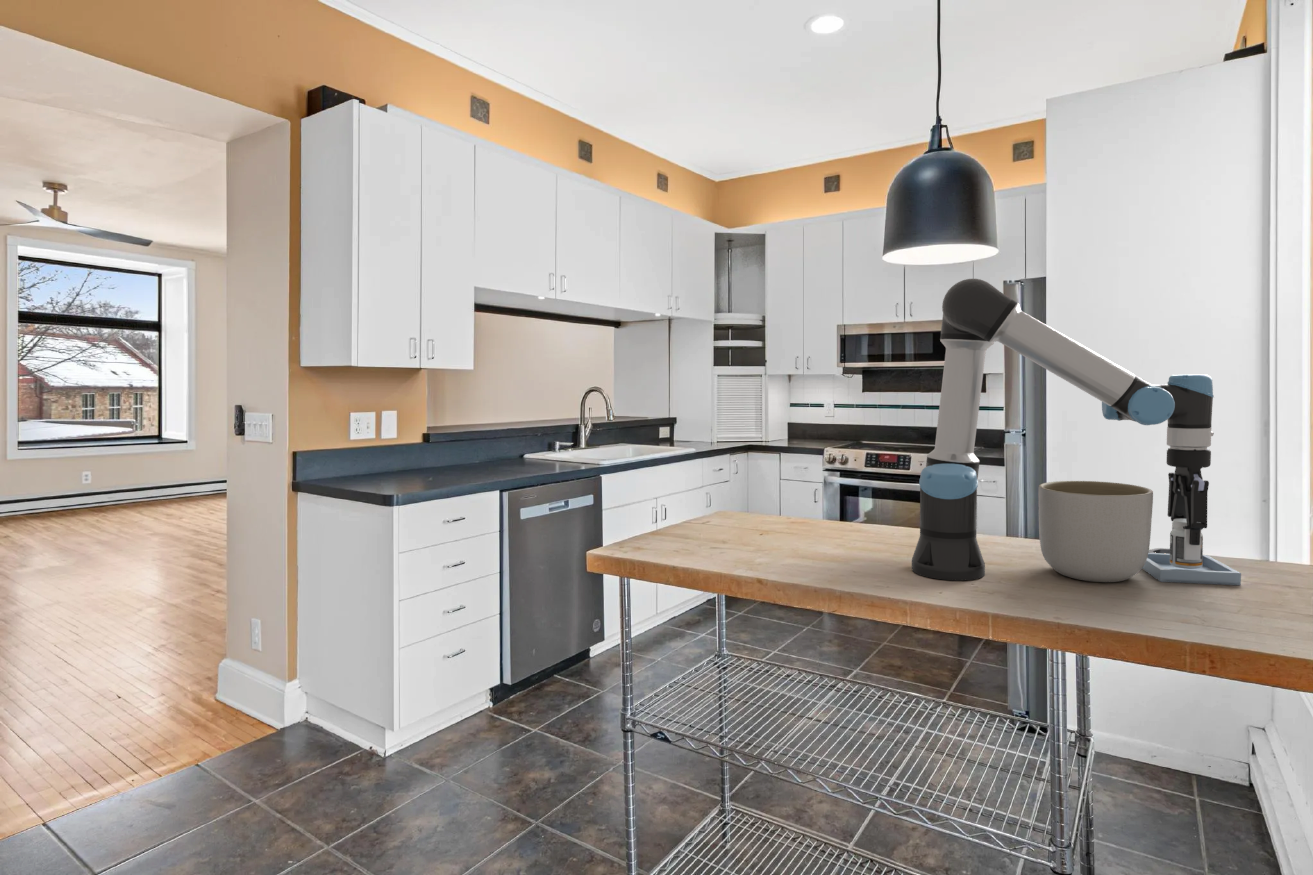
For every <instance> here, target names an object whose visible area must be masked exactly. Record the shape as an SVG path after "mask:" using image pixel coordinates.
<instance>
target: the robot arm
mask: <svg viewBox="0 0 1313 875" xmlns="http://www.w3.org/2000/svg"><path fill="white" fill-rule="evenodd" d="M941 307H942V308H941V309H942V320H941V328H940V338H939V340H940V342H941V344H942V345H943V346H944V347H945V354H944V365H943V373H942V381H941V388H940V389H941V391H940V399H939V407H938V416H937V426H936V433H935V443H934V444H935V445H934V449H933V450H931V451H930V452H929V453H928V454H927V456H926V462H925V467H924V468H923V469H922V470H920V478H919V481H918V482H919V492H920V493H919V495H920V496H919V501H920V502H919V538H918V541H917V543H916V546H915V549H914V553H913V555H912V558H911V571H912V572H913V573H914V574H916V575H920V576H923V577H926V578H931V579H936V580H943V581H971V580H977V579H980V578H983V577H984V576H985V575H986V565H985V561H984V556H983V554H982V552H981V549H980V545H979V542H978V539H977V538H978V537H977V528H978V527H977V526H978V524H977V517H978V516H977V514H978V513H977V510H978V508H977V507H978V500H977V499H978V486H979V479H978V477H979V469H980V462H981V461H980V459H979V458H978V457H977V456H976V454H975V452H974V451H975V443H976V436H977V430H978V428H977V426H978V420H979V419H978V418H979V412H980V403H981V397H982V396H981V393H982V386H983V378H984V369H985V362H986V360H985V359H986V353H987V349H989V348H990V347H991V346H993V345H994V344H995V342H998V343H1000V344H1002V345H1003V346H1005V347H1007V348H1008V349H1010V350H1012V351H1013V352H1016V353H1017V354H1019V355H1021V356H1023V357H1024V358H1026V359H1028V360H1030V361H1031V362H1033V363H1035V364H1037V365H1038V366H1040V367H1042V368H1043V369H1044V370H1047V371H1049V372H1050V373H1052V374H1053V375H1056V376H1057V377H1059V378H1061V379H1062V380H1064V381H1066V382H1068V383H1069V384H1070V385H1073V386H1075V387H1076V388H1077V389H1079V390H1082V391H1083V392H1084V393H1086V394H1088V395H1090V396H1092V397H1094V398H1095V399H1097V400H1099V401H1100V402H1101V411H1102V412H1101V413H1102V416H1103V418H1104V419H1105V420H1107V421H1108V420H1109V421H1110V420H1111V421H1133V422H1136V423H1138V424H1140V425H1143V426H1152V425H1153V426H1154V425H1160V424H1162V423H1164V422H1166V421H1167V427H1166V446H1169V448H1167V449H1166V465H1167V466H1169V467H1175V469H1174V472H1168V498H1167V500H1168V501H1167V517H1168V518H1170V521H1171V531H1172V530H1173V529H1174V525H1173V520H1174V519H1186V521H1187V526H1183V529H1185V533H1184V559H1185V560H1200V555H1201V533H1202V531H1203V530H1204V529H1207V528H1208V492H1209V487H1210V486H1209V485H1210V482H1209V480H1204V479H1203V476H1202V469H1204V468H1208V467H1210V466H1211V462H1212V451H1211V450H1210V449H1209V448H1210V446H1211V445H1212V437H1213V436H1214V432H1213V431H1212V418H1213V400H1214V398H1215V397H1214V389H1213V388H1214V386H1213V378H1212V377H1211V376H1210V375H1208V374H1204V373H1203V374H1202V373H1200V374H1172V375H1170V376H1169V377H1168V381H1167V383H1164V384H1152V383H1150V382H1148V381H1147V380H1145V379H1143V378H1141V377H1139V376H1137V375H1136V374H1134V373H1132V372H1131V371H1129V370H1127V369H1126V368H1124V367H1123V366H1120V365H1119V364H1117V363H1115V362H1113V361H1112V360H1109V359H1108V358H1106V357H1105V356H1103V355H1101V354H1099V353H1098V352H1096V351H1094V350H1092V349H1090V348H1089V347H1086V346H1085V345H1083V344H1082V343H1080V342H1078V341H1076V340H1074V339H1072V338H1070V337H1069V336H1067V335H1066V334H1063V333H1062V332H1060V331H1058V330H1056V329H1055V328H1053V327H1051V326H1050V325H1048V324H1046V323H1044V322H1042V321H1040V320H1039V319H1037V318H1035V317H1033V316H1032V315H1030V314H1028V313H1026V312H1024V311H1023V310H1022V309H1021V306H1020V303H1019V302H1017V301H1016V300H1014V299H1012V298H1011V297H1009V296H1007V295H1006V294H1004V293H1003V292H1002V291H1000V290H998V288H996V287H995V286H994V285H992V284H990V282H988V281H985V280H983V279H981V278H980V279H979V278H967V279H966V278H965V279H963V280H960V281H958V282H956V283H955V284H953V285H952V286H951V287H950V288H949V289H948V290H947V291H946V293H945V295H944V297H943V299H942V306H941Z"/></svg>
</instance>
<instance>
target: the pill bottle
mask: <svg viewBox="0 0 1313 875" xmlns="http://www.w3.org/2000/svg"><path fill="white" fill-rule="evenodd" d="M1172 522H1173V525H1174V529H1173V530H1172V529H1171V530H1170V534H1169V549H1170V564H1171V565H1172V566H1175V567H1179V568H1184V569H1198V568H1201V567H1202V563H1203V555H1204V554H1203V553H1204V550H1203V549H1204V548H1203V547H1204V546H1203V545H1204V542H1203V541H1204V537H1203V532H1201V555H1200V560H1185V559H1184V533H1185V529H1183V526H1187V521H1186V519H1174V520H1173V521H1172Z"/></svg>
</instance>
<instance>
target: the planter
mask: <svg viewBox="0 0 1313 875" xmlns="http://www.w3.org/2000/svg"><path fill="white" fill-rule="evenodd" d="M1153 505H1154V491H1153V490H1152V489H1151V488H1148V487H1145V486H1141V485H1134V484H1129V483H1128V484H1127V483H1122V482H1121V483H1120V482H1111V481H1109V482H1108V481H1098V480H1097V481H1096V480H1059V481H1048V482H1043V483H1041V484H1039V485H1038V533H1039V544H1040V546H1039V547H1040V550H1041V554H1042V557H1043V558H1044V560H1045V561H1046V562H1047V564H1048V565H1049V566H1050V567H1051V568H1052V569H1053V570H1054V571H1056V572H1057V573H1058V574H1060V575H1062V576H1064V577H1067V578H1070V579H1071V578H1072V579H1075V580H1080V581H1086V582H1091V583H1092V582H1094V583H1118V582H1123V581H1126V580H1128V579H1131V578H1133V577H1134V576H1136V575H1137V574H1138V573H1139V572H1140V571H1142V570H1143V569H1142V568H1143V567H1144V565H1145V563H1146V560H1147V557H1148V552H1149V550H1150V547H1151V546H1150V544H1151V534H1152V520H1153V519H1152V518H1153Z"/></svg>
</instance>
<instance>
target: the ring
mask: <svg viewBox="0 0 1313 875" xmlns="http://www.w3.org/2000/svg"><path fill="white" fill-rule="evenodd" d="M1155 552H1156V553H1166V554H1170V548H1163V547H1158V548H1151V549H1149V552H1148V553H1155Z"/></svg>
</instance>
